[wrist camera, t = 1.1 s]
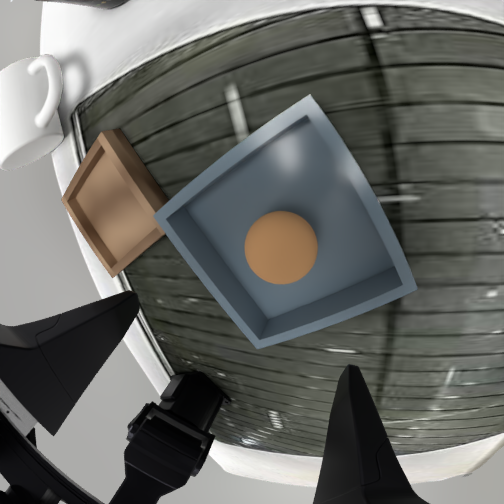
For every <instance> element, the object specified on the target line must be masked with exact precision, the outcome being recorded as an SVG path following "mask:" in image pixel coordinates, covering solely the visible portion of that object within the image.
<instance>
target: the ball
mask: <svg viewBox="0 0 504 504" xmlns="http://www.w3.org/2000/svg"><path fill="white" fill-rule="evenodd" d="M317 253H318V242H317V238H316V235H315V232H314V230H313V229H312V227H311V226H310V224H309V223H308V222H307V221H306V220H305V219H303V218H302V217H301V216H299V215H297V214H295V213H292V212H288V211H274V212H270V213H268V214H265V215H263V216H262V217H260V218H259V219H258V220H256V221H255V222H254V223H253V225H252V226H251V228H250V229H249V231H248V233H247V236H246V239H245V256H246V259H247V262H248V264H249V266H250V268H251V269H252V270H253V272H254V273H255V274H256V275H257V276H258V277H260V278H261V279H263V280H265V281H267V282H270V283H273V284H289V283H293V282H295V281H298V280H300V279H301V278H302V277H304V276H305V275H306V274H307V273H308V272H309V271H310V270H311V268H312V267H313V265H314V263H315V260H316V258H317Z"/></svg>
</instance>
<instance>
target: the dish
mask: <svg viewBox="0 0 504 504" xmlns="http://www.w3.org/2000/svg"><path fill="white" fill-rule="evenodd" d="M274 211H288V212H292V213H295V214H297V215H299V216H301V217H302V218H303V219H305V220H306V221H307V222H308V223H309V224H310V226H311V227H312V229H313V230H314V232H315V235H316V238H317V242H318V253H317V258H316V260H315V263H314V265H313V267H312V268H311V270H310V271H309V272H308V273H307V274H306V275H305V276H304V277H302V278H301V279H300V280H298V281H295V282H293V283H289V284H273V283H270V282H267V281H265V280H263V279H261V278H260V277H258V276H257V275H256V274H255V273H254V272H253V270H252V269H251V268H250V266H249V264H248V262H247V259H246V256H245V239H246V236H247V233H248V231H249V229H250V228H251V226H252V225H253V223H254V222H255V221H256V220H258V219H259V218H260V217H262V216H263V215H265V214H268V213H270V212H274ZM153 217H154V218H155V220H156V221H157V222H158V224H159V225H160V227H161V228H162V229H163V231H164V232H165V233H166V235H167V236H168V238H169V239H170V240H171V242H172V243H173V244H174V246H175V247H176V248H177V250H178V251H179V252H180V254H181V255H182V256H183V258H184V259H185V260H186V262H187V263H188V264H189V266H190V267H191V268H192V270H193V271H194V272H195V274H196V275H197V276H198V277H199V279H200V280H201V281H202V283H203V284H204V285H205V286H206V288H207V289H208V290H209V291H210V293H211V294H212V295H213V296H214V298H215V299H216V300H217V301H218V303H219V304H220V305H221V306H222V308H223V309H224V310H225V311H226V313H227V314H228V315H229V316H230V317H231V319H232V320H233V321H234V322H235V324H236V325H237V326H238V327H239V328H240V330H241V331H242V332H243V333H244V334H245V335H246V337H247V338H248V339H249V340H250V341H251V343H252V344H253V345H254V346H255V347H256V348H257V349H260V348H263V347H267V346H270V345H274V344H277V343H280V342H283V341H287V340H290V339H293V338H296V337H299V336H302V335H305V334H308V333H311V332H314V331H317V330H320V329H322V328H325V327H328V326H331V325H333V324H336V323H339V322H342V321H344V320H347V319H349V318H352V317H355V316H357V315H360V314H362V313H365V312H367V311H370V310H372V309H374V308H377V307H379V306H382V305H384V304H386V303H389V302H391V301H393V300H395V299H398V298H400V297H402V296H404V295H407V294H409V293H411V292H413V291H415V290H417V289H418V288H417V285H416V282H415V280H414V277H413V274H412V271H411V269H410V266H409V263H408V261H407V259H406V256H405V254H404V252H403V249H402V247H401V245H400V243H399V241H398V238H397V236H396V234H395V232H394V230H393V228H392V226H391V224H390V222H389V220H388V217H387V215H386V213H385V212H384V210H383V208H382V206H381V204H380V202H379V200H378V198H377V196H376V194H375V192H374V191H373V189H372V187H371V185H370V183H369V182H368V180H367V178H366V176H365V175H364V173H363V171H362V169H361V168H360V166H359V164H358V163H357V161H356V159H355V158H354V156H353V155H352V153H351V151H350V150H349V148H348V147H347V145H346V143H345V142H344V140H343V139H342V137H341V136H340V134H339V133H338V131H337V130H336V128H335V127H334V125H333V124H332V122H331V121H330V119H329V118H328V117H327V115H326V114H325V112H324V111H323V110H322V108H321V107H320V105H319V104H318V103H317V101H316V100H315V99H314V98H313V97H312V96H311V95H308V96H307V97H305V98H303V99H302V100H300V101H299V102H297V103H296V104H294V105H293V106H291V107H290V108H288V109H287V110H285V111H284V112H282V113H281V114H279V115H278V116H276V117H275V118H274V119H272V120H271V121H269V122H268V123H266V124H265V125H264V126H262V127H261V128H259V129H258V130H257V131H255V132H254V133H252V134H251V135H250V136H248V137H247V138H246V139H244V140H243V141H242V142H240V143H239V144H238V145H236V146H235V147H234V148H232V149H231V150H230V151H229V152H227V153H226V154H225V155H223V156H222V157H221V158H220V159H218V160H217V161H216V162H215V163H213V164H212V165H211V166H210V167H208V168H207V169H206V170H205V171H203V172H202V173H201V174H200V175H199V176H197V177H196V178H195V179H194V180H193V181H191V182H190V183H189V184H188V185H187V186H186V187H184V188H183V189H182V190H181V191H180V192H179V193H178V194H176V195H175V196H174V197H173V198H172V199H171V200H170V201H168V202H167V203H166V204H165V205H164V206H163V207H162V208H161V209H160V210H158V211H157V212H156V213H155V214H154V215H153Z"/></svg>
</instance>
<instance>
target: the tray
mask: <svg viewBox="0 0 504 504" xmlns="http://www.w3.org/2000/svg"><path fill="white" fill-rule="evenodd" d="M168 201H169V200H168V198H167V197H166V196H165V194H164V193H163V191H162V190H161V188H160V187H159V186H158V184H157V183H156V181H155V180H154V178H153V177H152V175H151V174H150V173H149V171H148V170H147V168H146V167H145V165H144V164H143V162H142V161H141V159H140V158H139V156H138V155H137V154H136V152H135V151H134V149H133V148H132V146H131V145H130V143H129V142H128V140H127V139H126V137H125V136H124V134H123V133H122V131H121V130H120V129H114V130H108V131H102V132H101V133H100V135H99V136H98V138H97V139H96V141H95V142H94V144H93V145H92V147H91V148H90V150H89V152H88V153H87V155H86V156H85V158H84V160H83V161H82V163H81V165H80V166H79V168H78V170H77V172H76V173H75V175H74V177H73V179H72V180H71V182H70V184H69V186H68V188H67V190H66V192H65V194H64V195H63V197H62V202H63V204H64V205H65V207H66V209H67V211H68V212H69V214H70V216H71V217H72V219H73V221H74V222H75V224H76V225H77V227H78V229H79V230H80V232H81V233H82V235H83V236H84V238H85V239H86V241H87V243H88V244H89V246H90V247H91V249H92V250H93V251H94V253H95V254H96V256H97V257H98V259H99V260H100V262H101V263H102V264H103V266H104V267H105V269H106V270H107V271H108V273H109V274H110V275H111V277H112V278H113V277H115V276H116V275H117V274H118V273H120V272H121V271H122V270H124V269H125V268H126V267H127V266H128V265H130V264H131V263H132V262H133V261H134V260H135V259H137V258H138V257H139V256H140V255H141V254H142V253H144V252H145V251H146V250H147V249H148V248H150V247H151V246H152V245H153V244H154V243H156V242H157V241H158V240H159V239H160V238H162V237H163V236H164V235H165V234H166V233H165V232H164V231H163V229H162V228H161V227H160V225H159V224H158V222H157V221H156V220H155V218H154V217H153V215H154V214H155V213H156V212H157V211H158V210H160V209H161V208H162V207H163V206H164V205H165V204H166V203H167V202H168Z"/></svg>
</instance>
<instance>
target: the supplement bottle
mask: <svg viewBox="0 0 504 504" xmlns="http://www.w3.org/2000/svg"><path fill="white" fill-rule="evenodd" d="M36 1H47V2H59V3H68V4H76V5H83V6H89V7H95V8H101V9H109V8H113V7H116V6H118V5H120V4H122V3H123V2H125V1H126V0H36Z"/></svg>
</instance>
